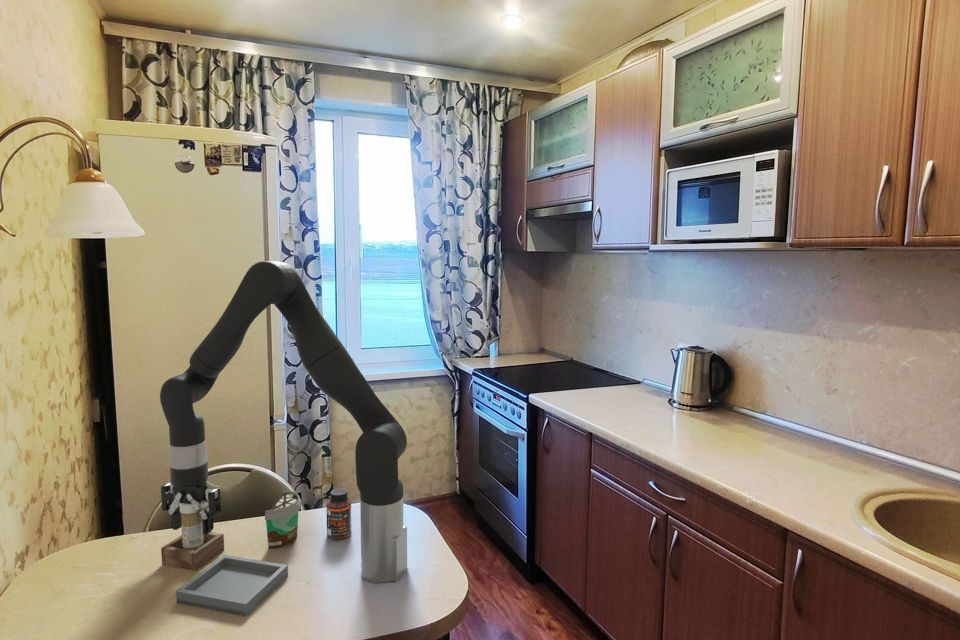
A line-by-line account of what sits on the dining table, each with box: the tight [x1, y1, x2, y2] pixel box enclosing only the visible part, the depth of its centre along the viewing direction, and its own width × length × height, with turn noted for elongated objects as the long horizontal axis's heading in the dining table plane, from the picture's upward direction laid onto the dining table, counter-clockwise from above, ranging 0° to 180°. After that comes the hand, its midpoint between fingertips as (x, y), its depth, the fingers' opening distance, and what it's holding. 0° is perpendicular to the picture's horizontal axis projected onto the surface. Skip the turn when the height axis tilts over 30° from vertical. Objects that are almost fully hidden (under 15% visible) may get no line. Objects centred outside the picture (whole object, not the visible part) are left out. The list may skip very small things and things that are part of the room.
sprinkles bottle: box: [180, 502, 204, 551], centre depth 127 cm, size 5×5×13 cm
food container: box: [264, 489, 302, 550], centre depth 136 cm, size 12×6×10 cm, turn 179°
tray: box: [175, 554, 289, 617], centre depth 116 cm, size 16×14×2 cm
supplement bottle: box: [326, 488, 352, 541], centre depth 138 cm, size 6×6×11 cm
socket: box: [160, 531, 225, 572], centre depth 128 cm, size 9×9×4 cm
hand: (192, 530), depth 128 cm, fingers open, 7 cm apart
